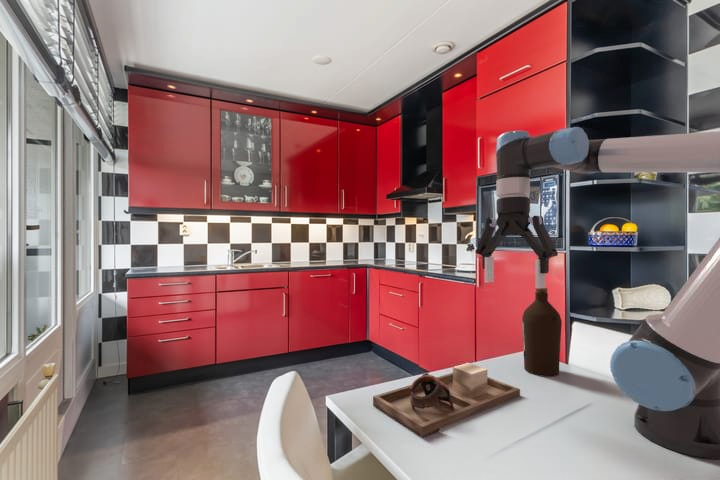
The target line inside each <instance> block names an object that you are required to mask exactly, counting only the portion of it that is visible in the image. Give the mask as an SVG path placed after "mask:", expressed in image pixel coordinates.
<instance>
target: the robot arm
mask: <svg viewBox="0 0 720 480" xmlns="http://www.w3.org/2000/svg"><path fill="white" fill-rule="evenodd" d="M495 156H496V158H495V159H496V181H495V182H496V185H495V186H496V188H495V189H496V192H495V194H496V195H495V196H496V197H498V198H497V199H496V214H497V218H496V219H495V218H492V217H491V218H490V217H489V218H487V219H485V227H484V230H483V232H482V235H481V237H480V238H479V239H480V240H479V242H478V244H477V247H476V249H475V253H476V254H477V255H480V256H481V257H482V259H481V260H482V261H481V262H482V269H484V283H488V284H489V283H494V282H495V277H494V275H495V274H494V273H495V266H494V265H495V262H494V261H495V259H494V258H495V257H494V256H493V255H492V254H494V252H495V251H496V249H497V247H498V246H499V245H500V244H501V243H502V241H504V238H506V237H507V236H508V237H510V236H512V237H513V236H516V237H517V236H520V237H521V238H523V239H524V241H525V242H526V244H527V245H529V247H530V248H531V250H532V251H533V252H534V253H535V255H536V256H537V258H536V259H535V261H534V262H535V271H534V272H535V289H536V288H546V274H549V269H550V264H549V263H550V259H551V258H553V257H557V256H558V254H559V253H558V251H557V248H556V247H555V246H556V245H555V244H554V243H553V241H552V238H551V236H550V235H549V232H548V231H547V230H548V229H546V226H545V223H544V216H542V215H533V216H530V212H531V198H530V197H528V196H530V195H531V171H536V170H541V169H548V168H554V169H555V168H557V169H559V170H565V171H570V172H573V173H575V174H578V175H579V174H580V175H591V174H595V173H599V174H600V173H720V130H719V131H706V132H695V133H694V132H693V133H689V132H688V133H675V134H662V135H661V134H659V135H658V134H657V135H645V136H630V137H618V138H617V137H616V138H615V137H614V138H605V139H604V138H602V139H599V138H598V139H589V138H588V134H587V133H586V132H585V131H584V128H581V127H578V126H574V127H569V128H561V129H558V130H555V131H551V132H547V133H543V134H542V133H541V134H538V135H534V136H532V137H531V134H530V133H529V132H528V131H526V130H514V131H506V132H503V133H502V134H500V135H498V137H497V140H496V151H495ZM530 225H531V226H533V229H534V231H535V233H536V235H537V237H538V239H539V240H538V239H537V238H536V236H535V235H534V233H533V232H532V230H531V229H530V227H529V226H530ZM496 227H498V228H497V229H496ZM495 229H496V230H495ZM689 276H690V277H688V279H687V280H686V282H685V283H684V284H683V286H682V287H681V288H680V289H679V291H678V293H676V295H675V296H674V298H673V299H672V300H671V301H670V303H669V304H668V305H667V307H666V308H665V309H664V311H663V312H662V313H655V314H649V315H647V316H646V318H644V320H643V321H642V323H641V324H640V325H639V326H638V328H637V329H636V330H635V332H634V333H633V334H632V336H631V337H630V339H628V341H625V342H623V343H621V344H620V345H619V346H617V348H616V349H614V351H613V353H612V354H611V358H610V363H609V365H610V367H609V368H610V372H611V374H612V378H613V380H614V381H615V384H616V386H617V387H618V388H619V389H620V390H621V392H623V394H624V395H626V397H628V398H629V399H631V400H632V401H634V403H636V404H638V405H637V407H636V410H635V412H634V419H633V420H634V424H633V426H634V428H635V429H636V430H637V432H638V433H639V434H640V435H642V436H643V437H645V438H646V439H647V440H649V441H651V442H653V443H655V444H657V445H660V446H661V447H663V448H666V449H669V450H672V451H675V452H678V453H681V454H684V455H688V456H692V457H698V458H703V459H712V460H713V459H714V460H720V237H719V238H718V239H717V241H716V242H714V244H713V246H712V247H711V248H710V250H709V251H708V253H707V254H706V255H705V257H703V258H702V260H701V261H700V263H699V265H698V266H697V267H696V268H695V269H694V271H693V272H692V273H691V275H689Z"/></svg>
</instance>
